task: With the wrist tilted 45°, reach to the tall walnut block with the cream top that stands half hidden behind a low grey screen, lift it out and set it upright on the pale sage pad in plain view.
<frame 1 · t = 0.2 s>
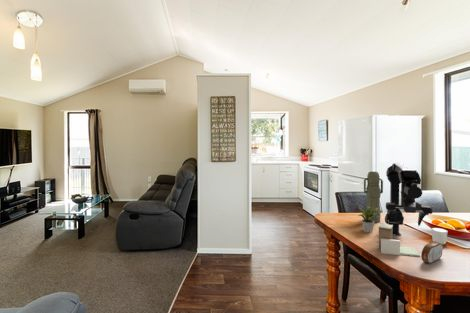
hand: (407, 224, 124), 14 cm above the table, tool pointing down, fingers open, 9 cm apart
low screen: (390, 253, 124), on the table
tin: (432, 261, 115), on the table
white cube: (439, 242, 136), on the table
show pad: (406, 251, 125), on the table
thermos: (373, 220, 175), on the table
house plant: (369, 231, 155), on the table
marked block: (385, 248, 129), on the table
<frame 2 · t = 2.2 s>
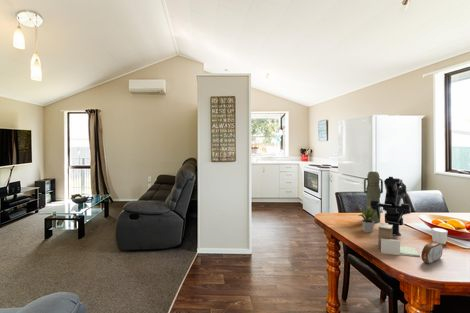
hand: (388, 219, 134), 14 cm above the table, tool tilted 45°, fingers open, 9 cm apart
nothing on the table moved.
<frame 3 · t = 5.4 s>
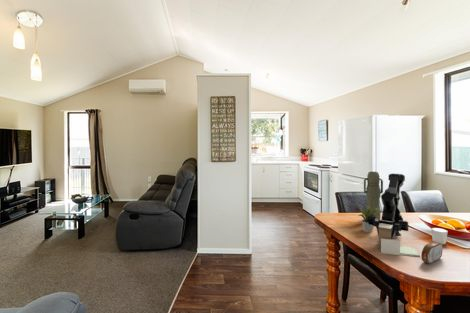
hand: (385, 237, 128), 7 cm above the table, tool tilted 45°, fingers closed on marked block, 5 cm apart
marked block: (385, 248, 129), on the table, touching gripper
everything else where it was.
when the fingers open (8 cm above the table, at t = 9.8 s): marked block stays where it is, resting on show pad.
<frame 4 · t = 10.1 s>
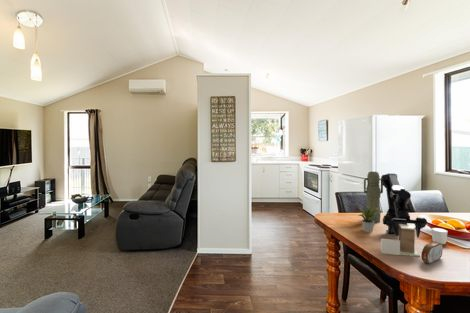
hand: (407, 236, 123), 8 cm above the table, tool tilted 45°, fingers open, 9 cm apart
marked block: (406, 250, 125), point 1 cm above the table, touching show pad
everything else where it was.
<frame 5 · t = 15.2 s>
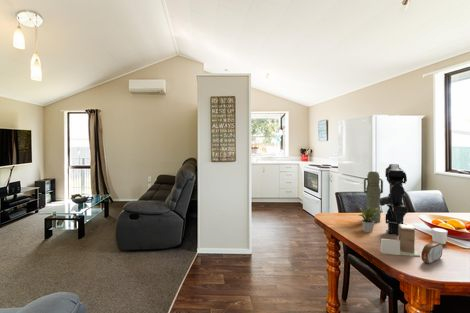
hand: (395, 220, 134), 13 cm above the table, tool pointing down, fingers open, 9 cm apart
nothing on the table moved.
at the end: marked block inside the target area on the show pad (0.0 cm from its centre), point 0.8 cm above the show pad's base; marked block tilted 0°; the gripper is holding nothing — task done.
